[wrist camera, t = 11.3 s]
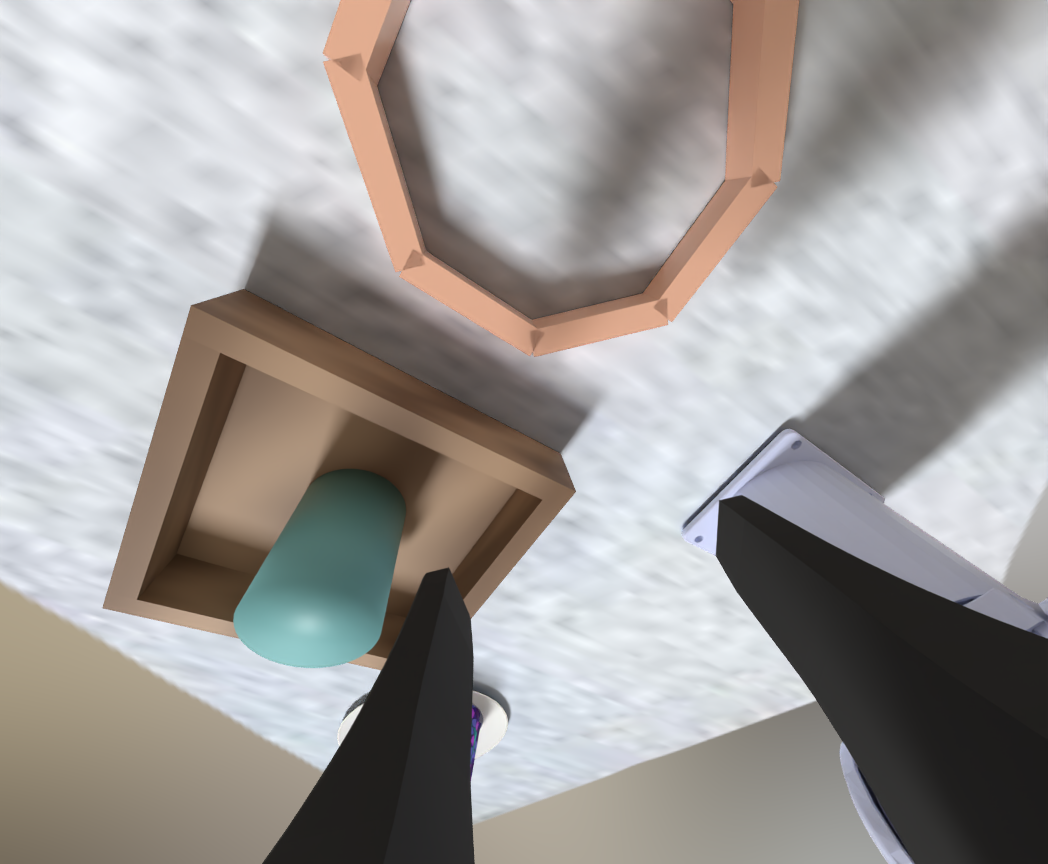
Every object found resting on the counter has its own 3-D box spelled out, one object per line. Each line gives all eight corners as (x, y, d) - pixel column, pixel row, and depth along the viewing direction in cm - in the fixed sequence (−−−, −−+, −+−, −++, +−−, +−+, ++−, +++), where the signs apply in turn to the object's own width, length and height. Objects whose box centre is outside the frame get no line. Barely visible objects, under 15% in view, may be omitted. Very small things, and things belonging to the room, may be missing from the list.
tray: (560, 453, 19) (576, 491, 16) (426, 627, 23) (421, 678, 21) (243, 288, 14) (190, 305, 11) (154, 552, 18) (102, 608, 16)
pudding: (399, 654, 25) (384, 752, 20) (539, 701, 30) (552, 789, 25) (309, 743, 28) (278, 844, 24) (446, 772, 33) (443, 861, 28)
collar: (836, 75, 13) (877, 59, 12) (597, 389, 17) (607, 403, 16) (504, -391, 8) (511, -506, 7) (293, 201, 13) (272, 199, 11)
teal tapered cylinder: (385, 458, 17) (348, 564, 12) (429, 555, 20) (416, 674, 15) (284, 482, 17) (202, 600, 12) (344, 576, 20) (300, 703, 15)
